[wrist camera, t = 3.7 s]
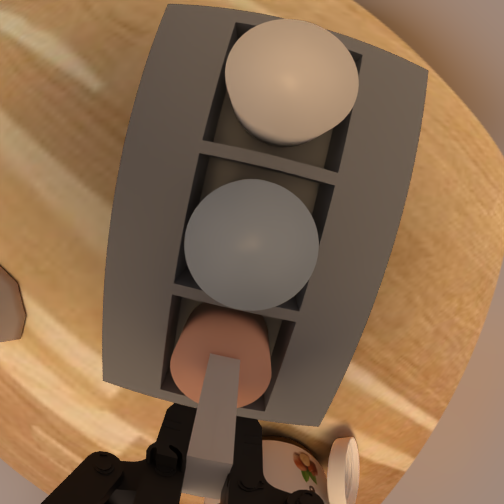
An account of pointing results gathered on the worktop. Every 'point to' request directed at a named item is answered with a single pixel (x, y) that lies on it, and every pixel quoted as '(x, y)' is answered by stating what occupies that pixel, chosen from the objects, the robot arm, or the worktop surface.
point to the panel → (264, 168)
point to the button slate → (251, 245)
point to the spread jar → (311, 469)
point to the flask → (10, 309)
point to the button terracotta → (222, 350)
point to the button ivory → (290, 81)
